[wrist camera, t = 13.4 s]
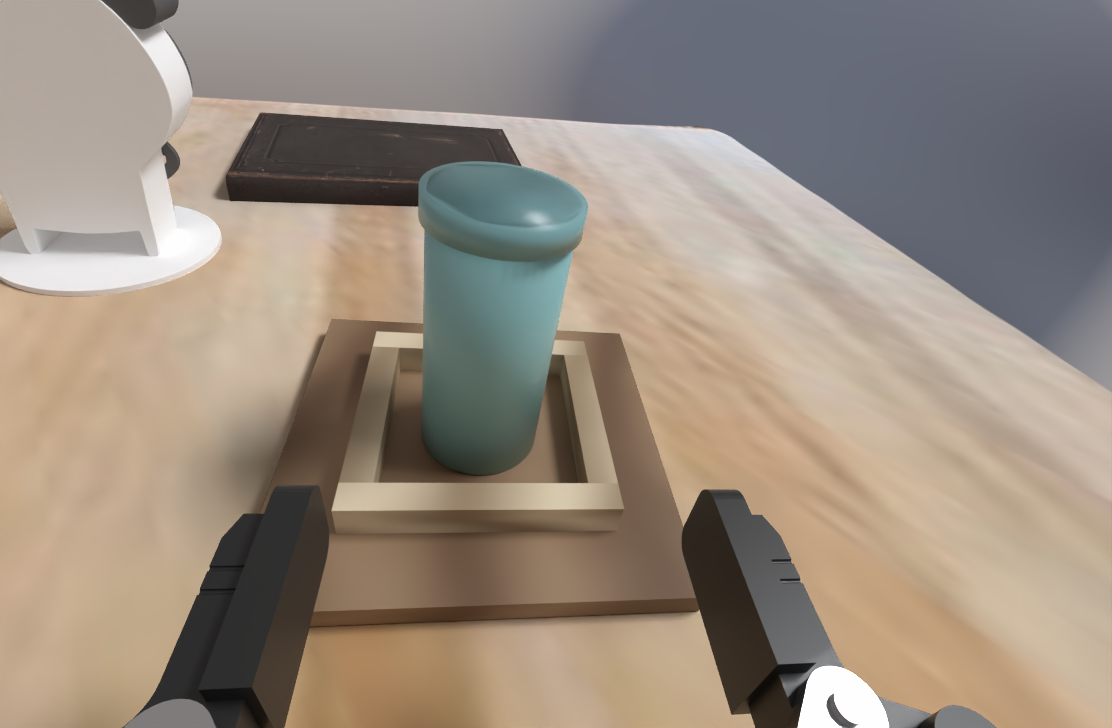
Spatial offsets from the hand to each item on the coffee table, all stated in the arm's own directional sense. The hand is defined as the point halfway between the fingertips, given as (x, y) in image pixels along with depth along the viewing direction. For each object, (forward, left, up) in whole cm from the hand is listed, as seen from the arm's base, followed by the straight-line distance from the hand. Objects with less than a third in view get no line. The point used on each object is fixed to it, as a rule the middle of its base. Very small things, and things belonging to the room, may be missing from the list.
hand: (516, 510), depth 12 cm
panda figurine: (+22, -26, -9) cm, 35 cm away
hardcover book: (+8, -43, -10) cm, 45 cm away
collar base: (0, -10, -9) cm, 14 cm away
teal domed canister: (0, -10, -8) cm, 13 cm away
